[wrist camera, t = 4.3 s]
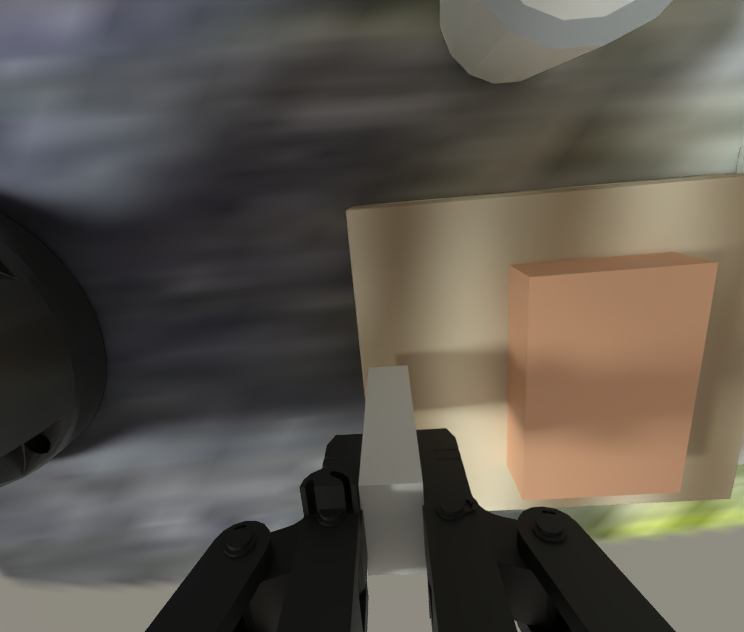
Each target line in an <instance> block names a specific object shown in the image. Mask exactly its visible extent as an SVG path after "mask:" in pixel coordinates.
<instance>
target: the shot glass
mask: <svg viewBox="0 0 744 632" xmlns="http://www.w3.org/2000/svg"><path fill="white" fill-rule="evenodd" d="M672 1H673V0H440V29H441V31H442V34H443V36H444V39H445V42H446V44H447V47H448V49H449V52H450V54H451V56H452V57H453V58H454V59H455V60H456V61H457V62H458V63H459V64H460V65H461V66H462V67H463V68H464V69H465V70H466V71H467V72H468V73H469V75H472V76H475V77H477V78H480V79H483V80H485V81H488V82H490V83H493V84H496V83H509V82H520V81H523V80H525V79H527V78H529V77H532V76H534V75H536V74H539V73H541V72H543V71H546V70H548V69H550V68H553V67H555V66H557V65H560V64H562V63H564V62H567V61H569V60H571V59H574V58H576V57H578V56H581V55H583V54H585V53H588V52H590V51H592V50H595V49H597V48H599V47H602V46H604V45H606V44H608V43H610V42H612V41H614V40H616V39H618V38H620V37H621V36H623V35H625V34H627V33H629V32H631V31H633V30H635V29H637V28H638V27H640V26H642V25H644V24H646V23H648V22H650V21H652V20H654V19H655V18H657V17H658V16H659V15H660V14H661V13H662V11H663V10H664V9H665V8H666V7H667V6H668V5H669V4H670V3H671V2H672Z"/></svg>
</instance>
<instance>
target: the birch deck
mask: <svg viewBox="0 0 744 632" xmlns="http://www.w3.org/2000/svg"><path fill="white" fill-rule="evenodd" d="M346 218H347V228H348V238H349V248H350V257H351V267H352V277H353V287H354V296H355V306H356V316H357V326H358V336H359V345H360V355H361V365H362V375H363V385H364V394H365V404H366V393H367V381H368V370H369V368H373V367H389V366H405V365H408V372H409V380H410V388H411V395H412V403H413V411H414V418H415V426H416V430H421V429H439V428H447V429H448V430H449V431H450V432H451V433H452V434H453V435H454V436H455V437H456V441H457V444H458V448H459V451H460V455H461V460H462V462H463V465H464V469H465V472H466V476H467V480H468V483H469V487H470V490H471V494H472V496H473V498H474V499H476V500H477V502H478V504H479V506H481V507H482V508H483V509H485V510H486V511H496V510H515V509H529V508H531V507H542V506H543V507H549V508H555V507H575V506H594V505H614V504H634V503H653V502H673V501H693V500H712V499H730V497H731V492H732V488H733V483H734V478H735V474H736V469H737V464H738V460H739V455H740V450H741V446H742V441H743V436H744V173H735V174H710V175H699V176H687V177H676V178H665V179H653V180H642V181H631V182H619V183H608V184H596V185H585V186H574V187H562V188H551V189H540V190H528V191H517V192H506V193H494V194H483V195H472V196H460V197H449V198H438V199H426V200H415V201H404V202H392V203H381V204H370V205H358V206H352V207H351V208H349V209H348V210H347V211H346ZM665 252H675V253H680V254H684V255H688V256H693V257H697V258H701V259H706V260H710V261H715V262H719V263H718V269H717V275H716V280H715V286H714V292H713V298H712V304H711V310H710V316H709V322H708V328H707V334H706V340H705V346H704V352H703V358H702V364H701V370H700V376H699V382H698V388H697V394H696V400H695V406H694V412H693V418H692V423H691V429H690V435H689V441H688V447H687V453H686V459H685V465H684V471H683V477H682V483H681V489H680V492H679V493H659V494H640V495H621V496H602V497H582V498H563V499H544V500H524V501H523V500H522V498H521V496H520V493H519V491H518V489H517V487H516V484H515V482H514V480H513V478H512V475H511V473H510V471H509V469H508V466H507V407H508V338H509V268H510V265H514V264H527V263H539V262H552V261H565V260H577V259H590V258H602V257H615V256H627V255H640V254H652V253H665Z"/></svg>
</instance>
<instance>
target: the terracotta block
mask: <svg viewBox="0 0 744 632" xmlns="http://www.w3.org/2000/svg"><path fill="white" fill-rule="evenodd" d="M718 263H719V262H715V261H710V260H706V259H701V258H697V257H693V256H688V255H684V254H680V253H675V252H665V253H652V254H640V255H627V256H615V257H602V258H590V259H577V260H565V261H552V262H539V263H527V264H514V265H510V268H509V338H508V407H507V466H508V469H509V471H510V473H511V475H512V478H513V480H514V482H515V484H516V487H517V489H518V491H519V493H520V496H521V498H522V500H523V501H524V500H544V499H563V498H582V497H602V496H621V495H640V494H659V493H679V492H680V489H681V483H682V477H683V471H684V465H685V459H686V453H687V447H688V441H689V435H690V429H691V423H692V418H693V412H694V406H695V400H696V394H697V388H698V382H699V376H700V370H701V364H702V358H703V352H704V346H705V340H706V334H707V328H708V322H709V316H710V310H711V304H712V298H713V292H714V286H715V280H716V275H717V269H718Z"/></svg>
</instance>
